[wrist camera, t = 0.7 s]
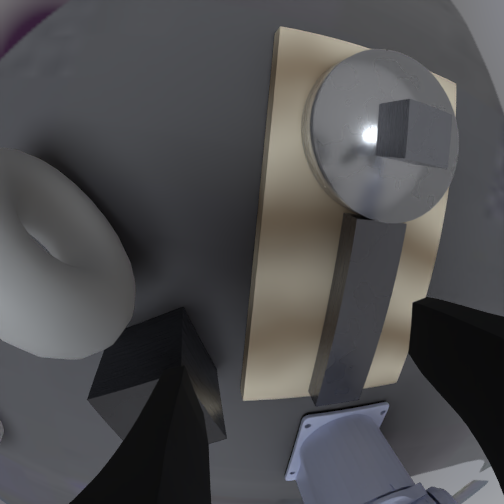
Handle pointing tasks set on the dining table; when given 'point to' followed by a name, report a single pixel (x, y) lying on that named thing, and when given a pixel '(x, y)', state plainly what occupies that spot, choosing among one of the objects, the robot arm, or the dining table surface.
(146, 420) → the robot arm
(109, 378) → the charcoal matte cube
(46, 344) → the donut
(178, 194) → the dining table surface
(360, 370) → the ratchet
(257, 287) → the board
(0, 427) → the shot glass
